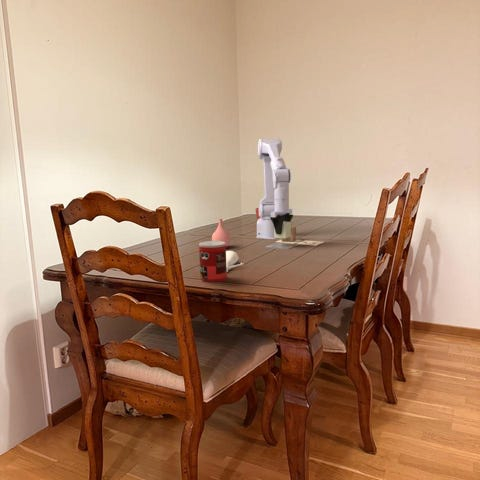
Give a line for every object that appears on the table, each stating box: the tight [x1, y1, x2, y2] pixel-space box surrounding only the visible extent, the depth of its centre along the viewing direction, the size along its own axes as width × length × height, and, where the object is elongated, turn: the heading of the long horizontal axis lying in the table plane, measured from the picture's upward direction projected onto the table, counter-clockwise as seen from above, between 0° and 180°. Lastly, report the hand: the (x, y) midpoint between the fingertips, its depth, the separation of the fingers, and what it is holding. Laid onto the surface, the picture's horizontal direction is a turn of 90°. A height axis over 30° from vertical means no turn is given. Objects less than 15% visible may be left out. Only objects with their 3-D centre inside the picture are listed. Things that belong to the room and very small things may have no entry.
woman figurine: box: [226, 250, 245, 273], centre depth 146 cm, size 12×4×18 cm
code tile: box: [295, 239, 324, 246], centre depth 184 cm, size 9×9×1 cm
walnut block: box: [281, 225, 297, 243], centre depth 189 cm, size 5×5×6 cm
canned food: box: [198, 240, 228, 283], centre depth 131 cm, size 8×8×11 cm
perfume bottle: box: [211, 218, 231, 247], centre depth 177 cm, size 8×8×12 cm
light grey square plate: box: [265, 242, 299, 251], centre depth 178 cm, size 10×10×1 cm
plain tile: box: [275, 239, 303, 244], centre depth 189 cm, size 9×9×1 cm
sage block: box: [274, 221, 292, 239], centre depth 176 cm, size 5×5×6 cm
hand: (281, 233), depth 177 cm, fingers closed on sage block, 5 cm apart
